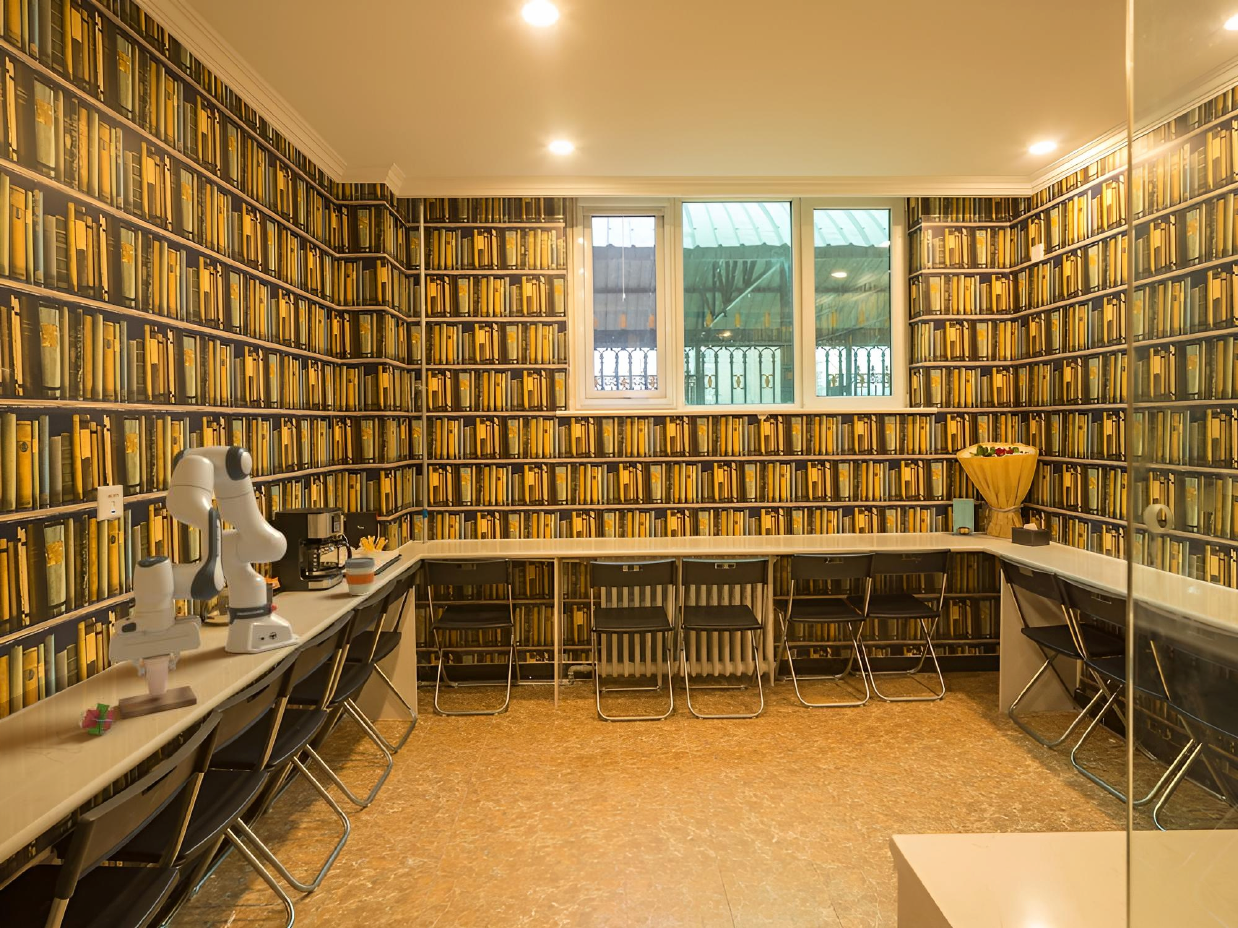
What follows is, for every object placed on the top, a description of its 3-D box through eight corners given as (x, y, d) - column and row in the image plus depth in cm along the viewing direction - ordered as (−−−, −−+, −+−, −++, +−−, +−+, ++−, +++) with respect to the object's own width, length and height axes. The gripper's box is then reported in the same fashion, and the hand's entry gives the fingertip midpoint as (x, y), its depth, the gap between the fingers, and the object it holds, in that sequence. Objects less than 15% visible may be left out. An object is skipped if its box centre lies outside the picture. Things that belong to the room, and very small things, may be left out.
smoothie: (154, 688, 193) (152, 636, 192) (177, 688, 192) (175, 636, 192) (137, 697, 186) (135, 643, 186) (161, 697, 186) (159, 643, 185)
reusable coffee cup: (380, 593, 320) (380, 559, 319) (353, 598, 311) (352, 563, 310) (366, 589, 328) (366, 556, 328) (340, 593, 319) (339, 559, 319)
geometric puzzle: (112, 713, 178) (90, 694, 173) (131, 717, 175) (109, 697, 171) (88, 739, 173) (65, 720, 168) (107, 744, 170) (84, 725, 165)
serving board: (189, 690, 199) (189, 685, 199) (196, 703, 190) (196, 697, 190) (118, 704, 189) (118, 699, 189) (122, 718, 180) (122, 712, 180)
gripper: (198, 610, 197) (200, 660, 198) (106, 623, 185) (109, 677, 185) (202, 615, 192) (204, 666, 193) (108, 628, 180) (110, 683, 180)
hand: (157, 671), depth 189 cm, fingers closed on smoothie, 5 cm apart
